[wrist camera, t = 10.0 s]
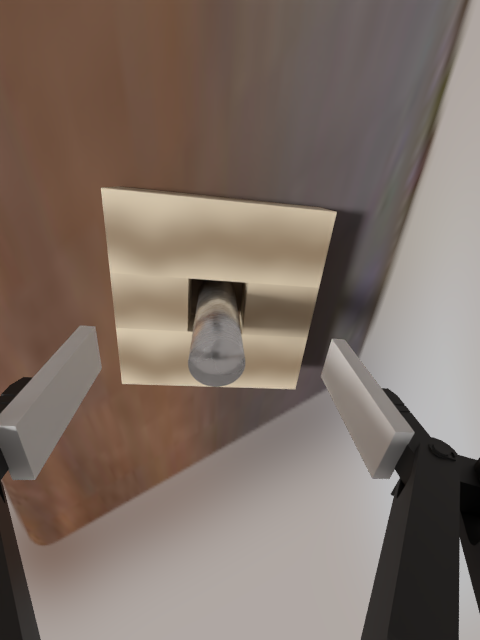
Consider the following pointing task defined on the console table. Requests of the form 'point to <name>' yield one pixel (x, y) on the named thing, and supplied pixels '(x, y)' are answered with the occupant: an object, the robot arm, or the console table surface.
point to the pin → (216, 336)
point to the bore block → (212, 264)
